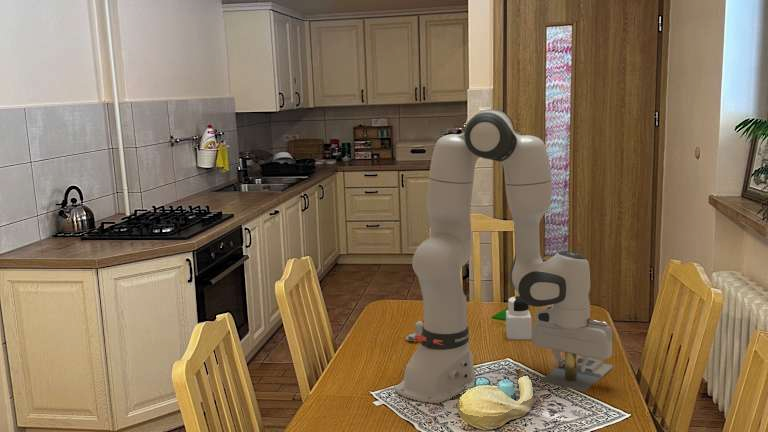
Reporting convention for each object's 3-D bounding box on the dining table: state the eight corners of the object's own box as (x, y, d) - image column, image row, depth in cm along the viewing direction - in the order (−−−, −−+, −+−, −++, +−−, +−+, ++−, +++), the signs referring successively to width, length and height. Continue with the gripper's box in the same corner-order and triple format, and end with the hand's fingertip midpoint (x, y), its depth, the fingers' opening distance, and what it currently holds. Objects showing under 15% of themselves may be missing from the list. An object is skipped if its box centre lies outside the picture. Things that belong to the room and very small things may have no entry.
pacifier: (401, 340, 217) (414, 344, 213) (400, 321, 216) (413, 324, 212) (418, 334, 222) (432, 338, 217) (417, 315, 221) (431, 319, 216)
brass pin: (574, 382, 178) (574, 351, 176) (562, 379, 180) (562, 349, 178) (578, 378, 180) (579, 347, 179) (567, 375, 182) (567, 345, 181)
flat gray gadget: (601, 377, 180) (601, 371, 180) (557, 367, 187) (557, 361, 187) (611, 368, 186) (612, 362, 185) (568, 359, 193) (568, 353, 193)
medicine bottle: (529, 332, 220) (529, 294, 218) (531, 339, 213) (531, 301, 211) (505, 332, 221) (505, 294, 219) (507, 339, 214) (507, 301, 212)
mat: (584, 397, 172) (584, 391, 172) (539, 386, 180) (539, 380, 179) (615, 370, 188) (615, 365, 187) (572, 361, 195) (572, 356, 195)
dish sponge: (530, 315, 237) (530, 308, 237) (511, 327, 226) (511, 320, 226) (510, 312, 242) (510, 305, 241) (491, 323, 231) (491, 316, 230)
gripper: (617, 319, 173) (616, 373, 175) (539, 306, 186) (539, 356, 188) (607, 326, 168) (606, 381, 171) (528, 312, 181) (528, 364, 183)
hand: (570, 368), depth 179 cm, fingers open, 4 cm apart
